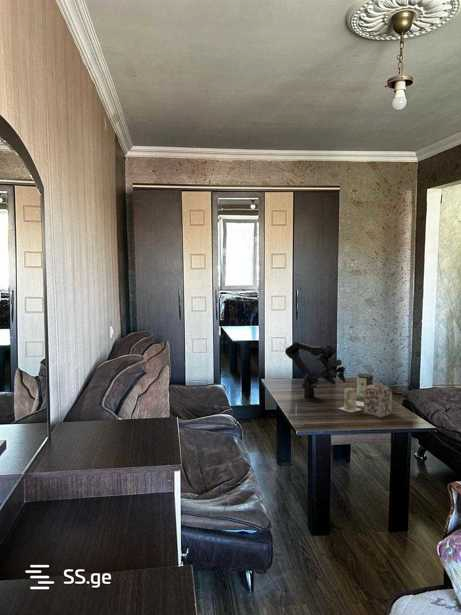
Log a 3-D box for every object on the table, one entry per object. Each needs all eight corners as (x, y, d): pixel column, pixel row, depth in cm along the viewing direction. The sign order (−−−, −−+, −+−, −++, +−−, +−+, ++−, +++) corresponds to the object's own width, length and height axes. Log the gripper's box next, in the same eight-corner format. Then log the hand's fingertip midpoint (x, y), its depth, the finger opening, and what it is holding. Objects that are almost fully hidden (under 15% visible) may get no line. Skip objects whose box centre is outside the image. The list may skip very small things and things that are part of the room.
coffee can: (372, 394, 308) (372, 373, 307) (373, 398, 298) (374, 377, 297) (356, 393, 310) (356, 373, 309) (357, 397, 300) (357, 376, 299)
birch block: (344, 408, 274) (344, 389, 273) (349, 407, 277) (350, 387, 276) (350, 410, 270) (351, 390, 269) (356, 409, 273) (356, 389, 272)
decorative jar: (363, 412, 267) (363, 382, 265) (374, 409, 274) (375, 379, 272) (380, 417, 257) (381, 386, 256) (392, 413, 264) (393, 383, 263)
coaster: (351, 405, 282) (351, 404, 282) (356, 401, 290) (356, 401, 290) (366, 407, 277) (366, 406, 277) (370, 403, 285) (370, 403, 285)
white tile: (338, 408, 275) (338, 408, 275) (349, 406, 280) (349, 405, 280) (351, 412, 266) (351, 412, 266) (362, 409, 272) (362, 409, 272)
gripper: (322, 357, 278) (336, 377, 270) (343, 353, 289) (357, 373, 281) (313, 367, 285) (327, 388, 276) (333, 364, 296) (347, 383, 287)
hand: (340, 383), depth 280 cm, fingers open, 9 cm apart
